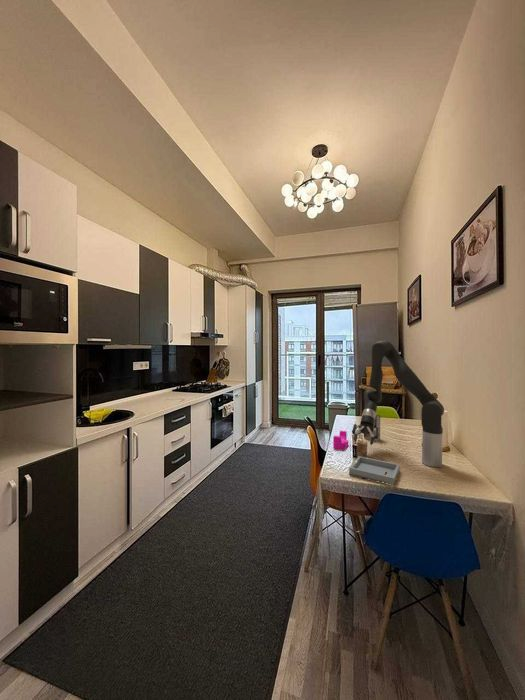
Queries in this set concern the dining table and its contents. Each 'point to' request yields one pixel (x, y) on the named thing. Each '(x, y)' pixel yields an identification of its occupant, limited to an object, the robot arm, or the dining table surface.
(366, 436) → the coffee box
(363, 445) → the walnut block
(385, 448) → the dining table surface
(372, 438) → the robot arm
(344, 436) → the toy block
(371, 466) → the tray
